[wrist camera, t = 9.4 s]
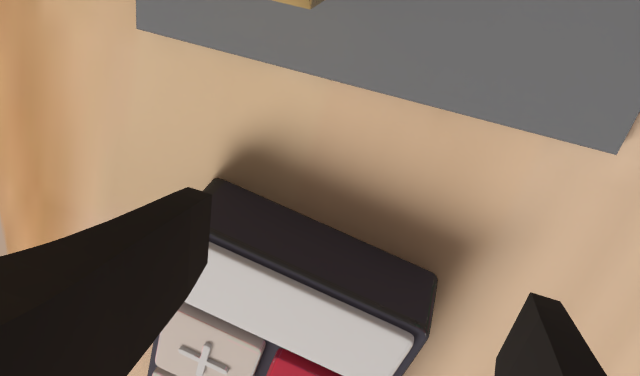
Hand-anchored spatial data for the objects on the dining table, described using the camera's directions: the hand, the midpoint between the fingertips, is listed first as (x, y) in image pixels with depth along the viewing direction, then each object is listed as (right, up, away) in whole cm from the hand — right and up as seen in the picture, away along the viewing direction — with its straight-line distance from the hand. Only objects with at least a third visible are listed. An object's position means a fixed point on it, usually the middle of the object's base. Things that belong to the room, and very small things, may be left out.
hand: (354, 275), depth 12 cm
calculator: (-3, -5, +16) cm, 17 cm away
